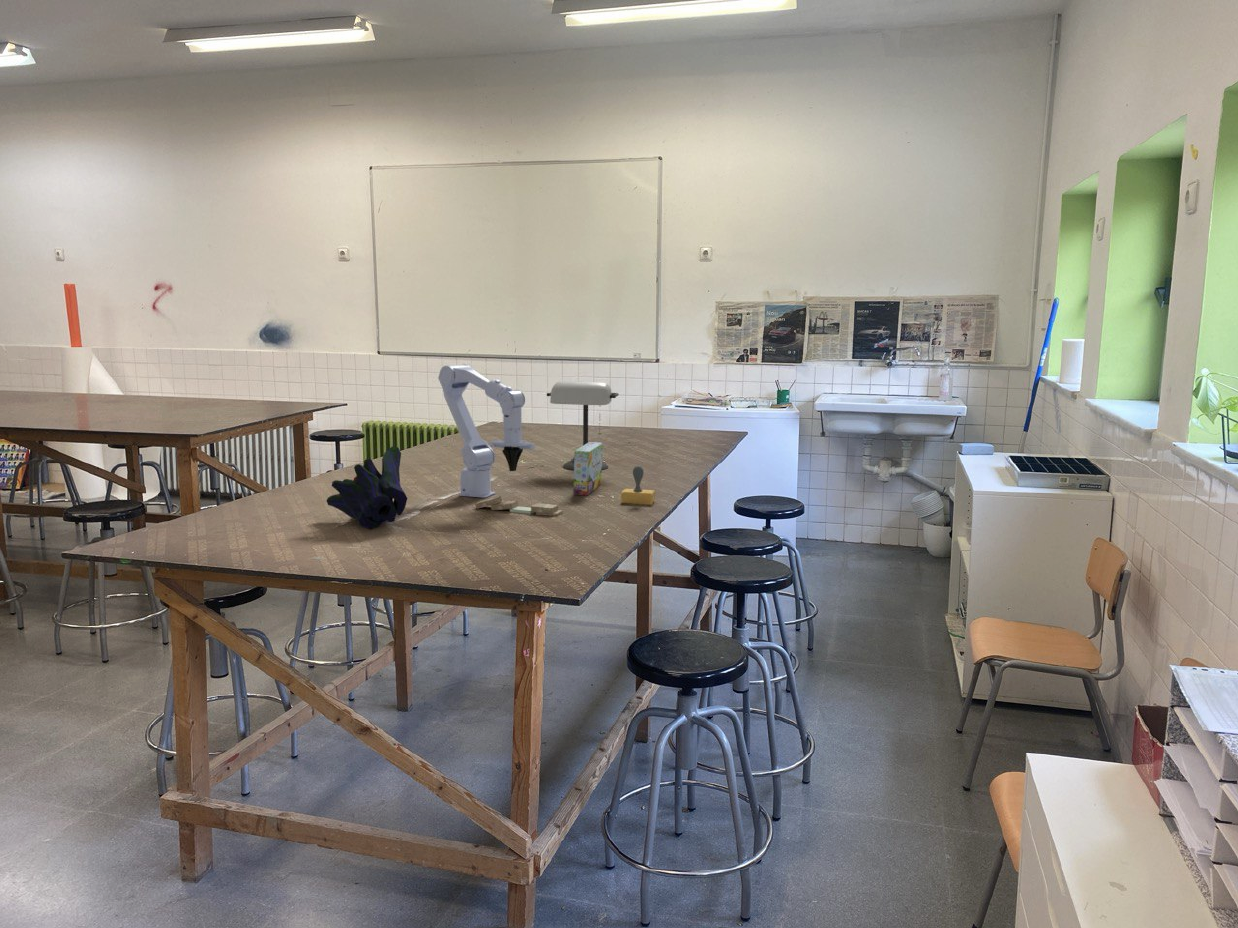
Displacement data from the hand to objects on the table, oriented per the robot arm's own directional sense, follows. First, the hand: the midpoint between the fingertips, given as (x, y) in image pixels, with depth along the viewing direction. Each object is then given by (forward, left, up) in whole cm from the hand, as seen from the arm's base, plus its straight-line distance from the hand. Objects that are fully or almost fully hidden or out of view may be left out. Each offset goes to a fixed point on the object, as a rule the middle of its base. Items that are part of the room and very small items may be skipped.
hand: (512, 470), depth 286 cm
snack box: (+16, +26, -10) cm, 32 cm away
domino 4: (+13, -12, -8) cm, 19 cm away
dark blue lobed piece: (-28, -38, -10) cm, 48 cm away
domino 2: (-1, -12, -9) cm, 15 cm away
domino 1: (-6, -12, -9) cm, 16 cm away
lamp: (+1, +62, -10) cm, 63 cm away
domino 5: (+14, -12, -10) cm, 21 cm away
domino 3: (+5, -12, -10) cm, 16 cm away
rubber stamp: (+38, +13, -10) cm, 41 cm away
